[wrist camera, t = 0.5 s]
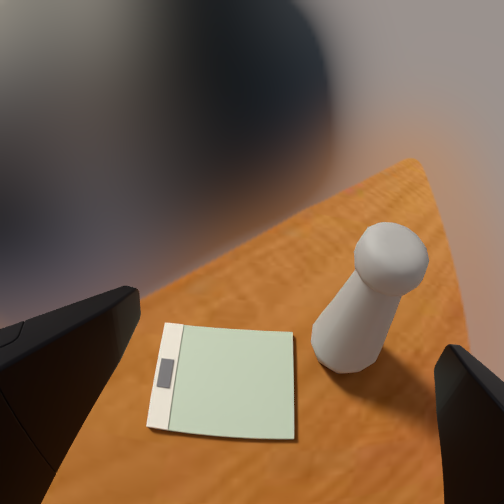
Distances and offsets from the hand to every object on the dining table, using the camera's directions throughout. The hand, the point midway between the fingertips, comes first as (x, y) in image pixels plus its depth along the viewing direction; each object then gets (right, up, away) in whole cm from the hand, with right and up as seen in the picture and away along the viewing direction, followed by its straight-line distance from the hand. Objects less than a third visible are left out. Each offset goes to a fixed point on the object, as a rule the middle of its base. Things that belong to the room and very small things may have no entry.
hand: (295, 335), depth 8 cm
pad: (-2, -8, +15) cm, 17 cm away
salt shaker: (+6, -6, +17) cm, 19 cm away
